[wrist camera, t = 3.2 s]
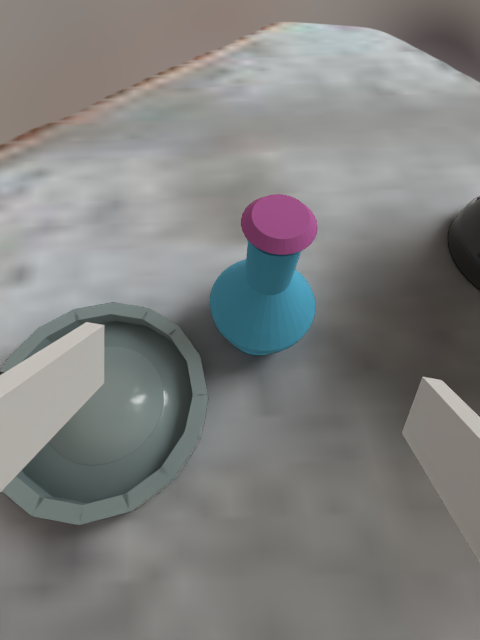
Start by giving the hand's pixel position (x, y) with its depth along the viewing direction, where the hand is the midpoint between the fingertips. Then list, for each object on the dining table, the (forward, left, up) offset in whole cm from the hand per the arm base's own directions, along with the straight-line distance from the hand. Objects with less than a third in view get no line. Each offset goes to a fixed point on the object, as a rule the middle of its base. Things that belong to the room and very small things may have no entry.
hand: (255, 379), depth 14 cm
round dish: (0, -12, -16) cm, 20 cm away
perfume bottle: (-10, 0, -16) cm, 19 cm away
